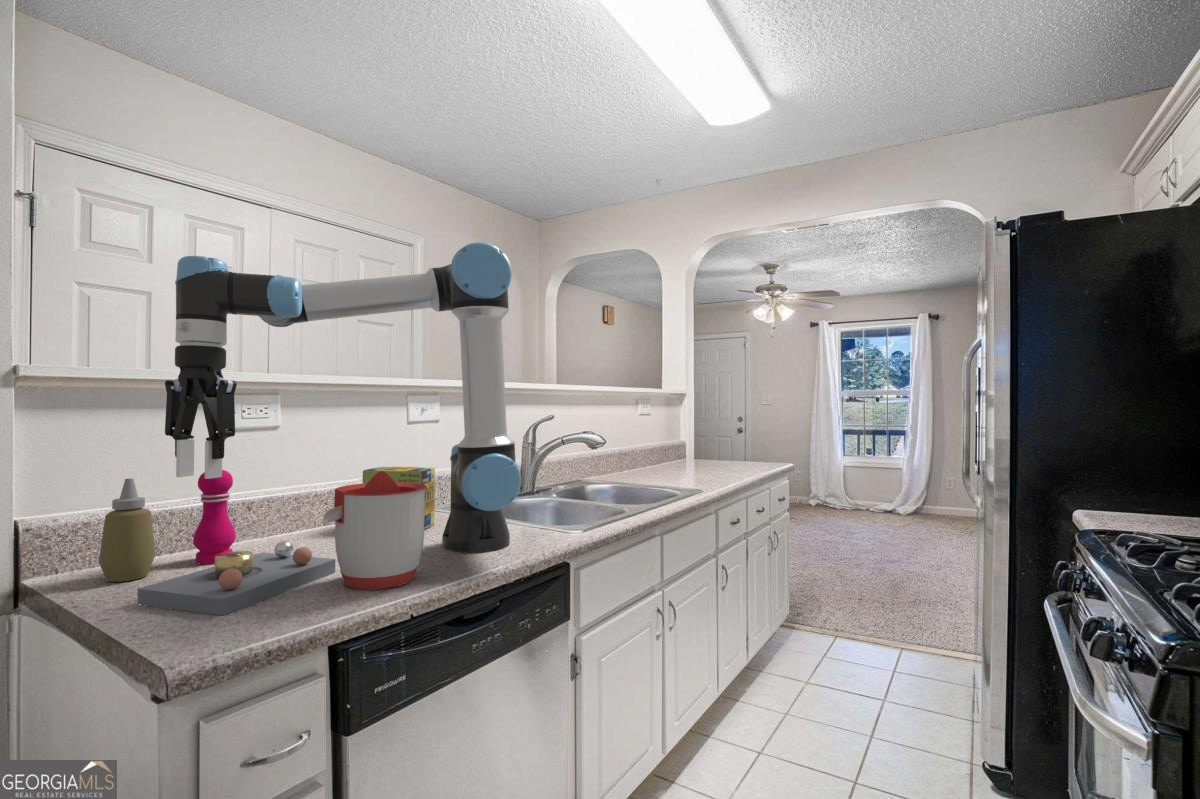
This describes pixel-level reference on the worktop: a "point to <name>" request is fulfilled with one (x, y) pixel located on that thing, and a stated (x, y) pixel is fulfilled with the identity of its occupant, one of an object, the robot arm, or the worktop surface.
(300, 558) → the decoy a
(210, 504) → the pepper mill
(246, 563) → the short gold cylinder
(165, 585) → the grey tray
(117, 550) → the squeeze bottle
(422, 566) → the worktop surface
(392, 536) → the citrus juicer
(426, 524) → the protein box
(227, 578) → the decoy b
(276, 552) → the ball
